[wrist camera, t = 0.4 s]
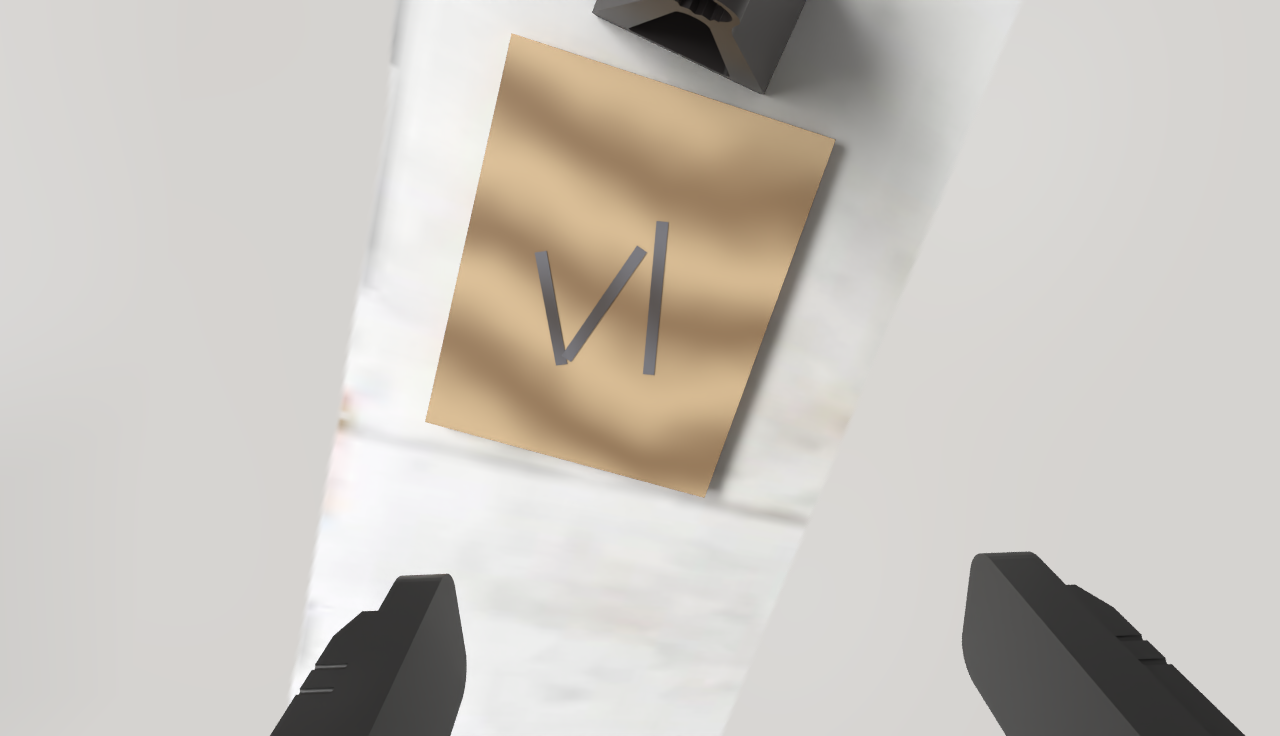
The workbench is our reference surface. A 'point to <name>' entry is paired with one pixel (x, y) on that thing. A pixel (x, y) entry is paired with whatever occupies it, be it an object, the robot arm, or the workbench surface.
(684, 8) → the phone stand
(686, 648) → the workbench surface
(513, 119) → the oak board
